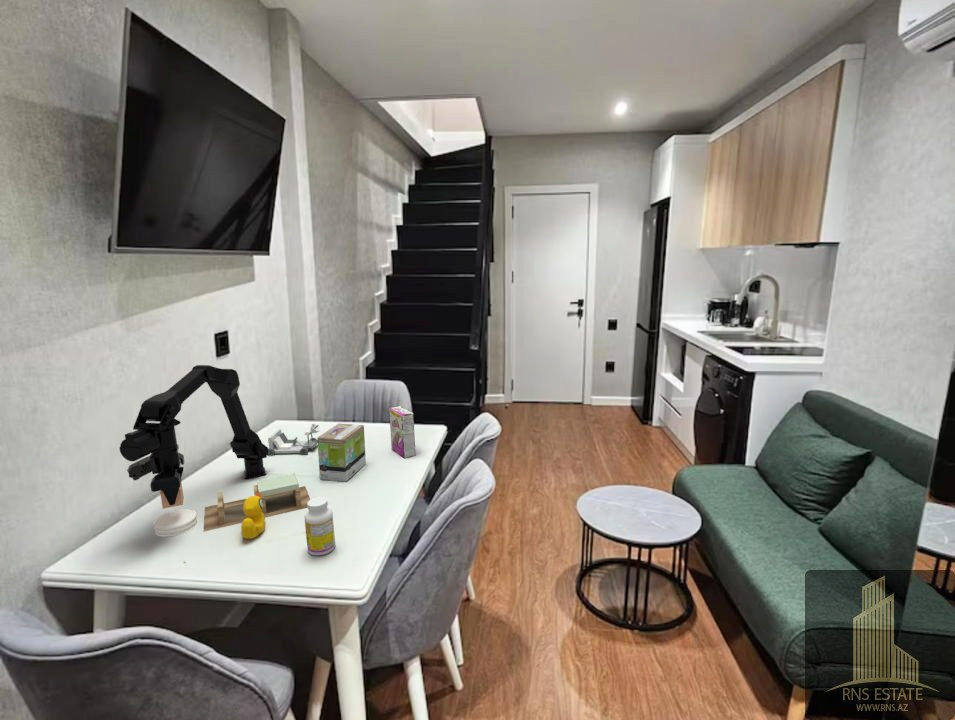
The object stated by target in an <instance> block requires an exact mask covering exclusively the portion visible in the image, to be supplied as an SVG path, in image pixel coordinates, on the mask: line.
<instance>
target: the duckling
mask: <svg viewBox="0 0 955 720" xmlns="http://www.w3.org/2000/svg"><path fill="white" fill-rule="evenodd" d="M245 499H246V500H245V502H244V505H243V511H244V513H245V515H246V516H247V518H246V519H244V520H243V522H242V523H241V526H240V530H241V536H242V537H243V539H246V540H251V539H255V538H256V537H258V536H259V535H260V534H261V533H263V532H264V530H265V528H266V517H265V516H264V514H263V513H262V512H261V511H262V509H263V502H262V499H261V494H260V493H257V494H256V496H255V495H250V496H248V497H247V498H245Z"/></svg>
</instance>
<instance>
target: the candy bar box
mask: <svg viewBox="0 0 955 720" xmlns="http://www.w3.org/2000/svg"><path fill="white" fill-rule="evenodd" d="M388 413H389V427H390V444H391V450H392V451H393V452H395V453H397V454H398V455H399V456H401V457H402V458H403V459H408V458H411V457H415V456H416V455H417V454H416V439H415V437H416V436H415V421H414V420H415V419H414V418H415V417H414V412H412V411H410V410H408V409H406V408H404V407H403V406H401V405H398V406H394V407H389V409H388Z"/></svg>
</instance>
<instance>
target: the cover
mask: <svg viewBox="0 0 955 720" xmlns="http://www.w3.org/2000/svg"><path fill="white" fill-rule="evenodd" d="M298 481H299V480H298V478H297V475H296V473H295V472H294V473H289V474H283V475H279V476H273V477H269V478H263V479H257V480H256V485H258V491H259V493H260V494H261V497H264V496H268V495H273V494H278V493H282V492H287V491H292V490H297V489H299V487H300V484H299V482H298Z"/></svg>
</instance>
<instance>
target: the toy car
mask: <svg viewBox="0 0 955 720" xmlns="http://www.w3.org/2000/svg"><path fill="white" fill-rule="evenodd" d="M320 431H321V428H320V427H319V424H314V423H312V424H311V425H310V431H304V435H305V436H307V437H306V438H307V440H298V437H295V438H294V439H288V437H287V435H286V434H285V433H284V432H282V428H278V429H277V430H276V431H275V432H274V433H273V434H271V435H270V436H269V437H267V440H268V448H269V451H268V455H267V457H273V455H274V456H275V455H277V454H300V455H301V456H307V455H308V454H309V450H310V449H314V448H315V447H316V446H317V445H318V440H317V438H316V437H313V434H317V433H319V432H320ZM309 436H311V437H310V438H309ZM271 455H272V456H271Z"/></svg>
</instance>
